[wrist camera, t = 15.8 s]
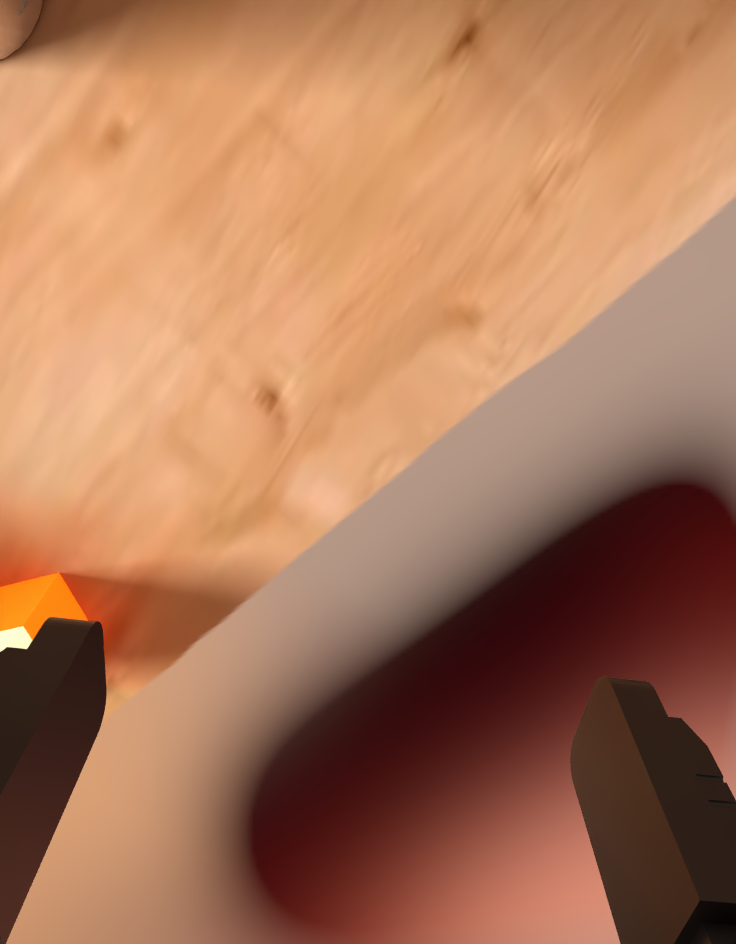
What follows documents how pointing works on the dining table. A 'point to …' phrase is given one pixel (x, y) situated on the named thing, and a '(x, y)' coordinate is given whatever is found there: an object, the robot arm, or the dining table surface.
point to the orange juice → (33, 608)
